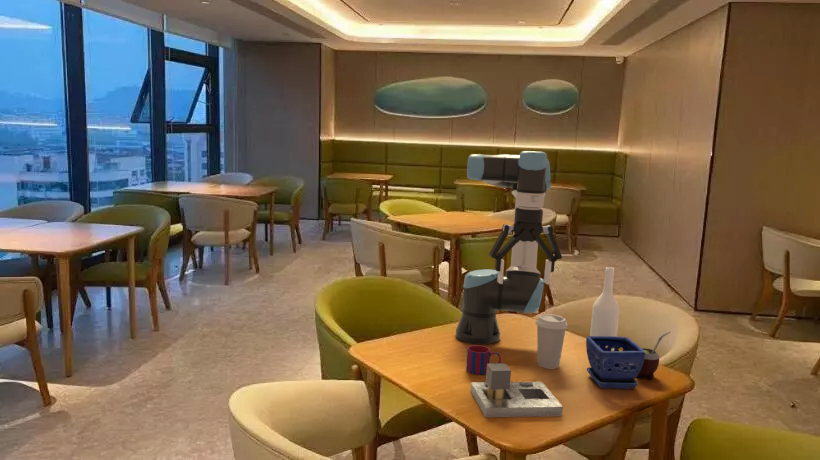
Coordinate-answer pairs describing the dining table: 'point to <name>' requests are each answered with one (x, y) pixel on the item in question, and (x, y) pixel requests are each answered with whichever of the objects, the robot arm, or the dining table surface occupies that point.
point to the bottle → (605, 310)
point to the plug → (497, 380)
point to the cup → (478, 359)
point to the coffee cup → (550, 339)
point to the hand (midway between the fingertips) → (523, 283)
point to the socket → (517, 400)
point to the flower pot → (614, 361)
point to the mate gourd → (650, 361)
